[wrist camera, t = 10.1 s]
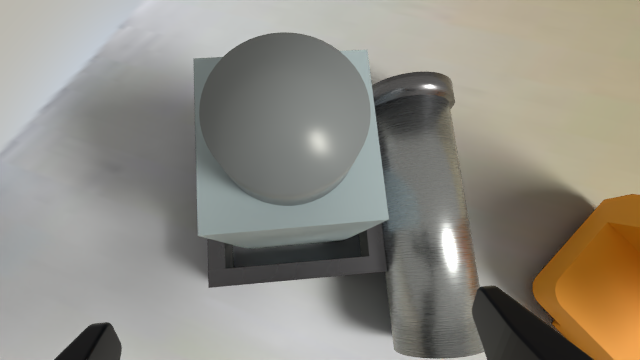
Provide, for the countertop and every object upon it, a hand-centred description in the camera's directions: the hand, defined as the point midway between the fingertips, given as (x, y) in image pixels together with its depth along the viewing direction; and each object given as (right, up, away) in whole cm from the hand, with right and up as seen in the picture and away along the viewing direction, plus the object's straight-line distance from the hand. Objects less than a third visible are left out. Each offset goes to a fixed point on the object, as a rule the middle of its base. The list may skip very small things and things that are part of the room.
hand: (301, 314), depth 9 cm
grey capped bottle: (-1, +2, +12) cm, 12 cm away
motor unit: (+1, +1, +12) cm, 12 cm away
